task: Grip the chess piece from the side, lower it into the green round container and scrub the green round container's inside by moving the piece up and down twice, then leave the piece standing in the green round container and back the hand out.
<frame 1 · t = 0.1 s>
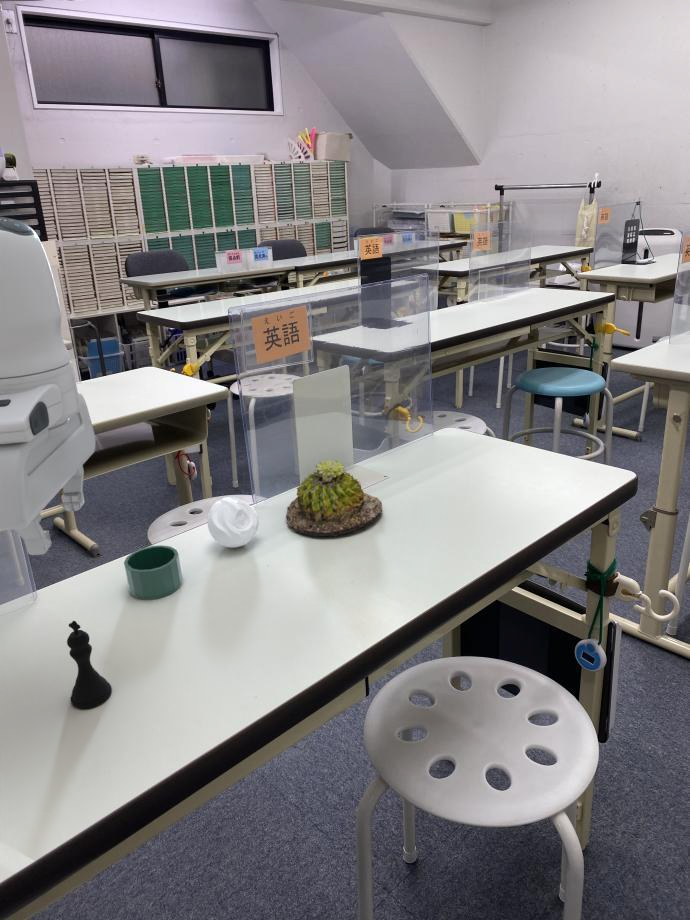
hand: (58, 528, 69), 21 cm above the table, tool pointing down, fingers open, 8 cm apart
cactus: (334, 516, 116), on the table
chess piece: (92, 697, 77), on the table
green round container: (156, 585, 98), on the table
white swirled ball: (235, 545, 109), on the table
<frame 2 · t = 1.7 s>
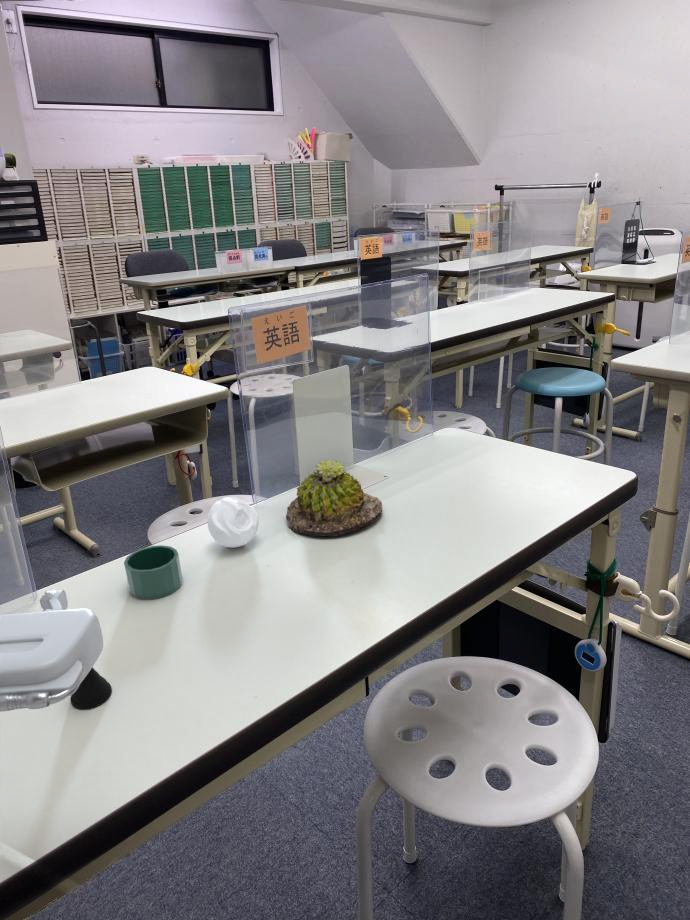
hand: (3, 601, 59), 20 cm above the table, tool horizontal, fingers open, 8 cm apart
nothing on the table moved.
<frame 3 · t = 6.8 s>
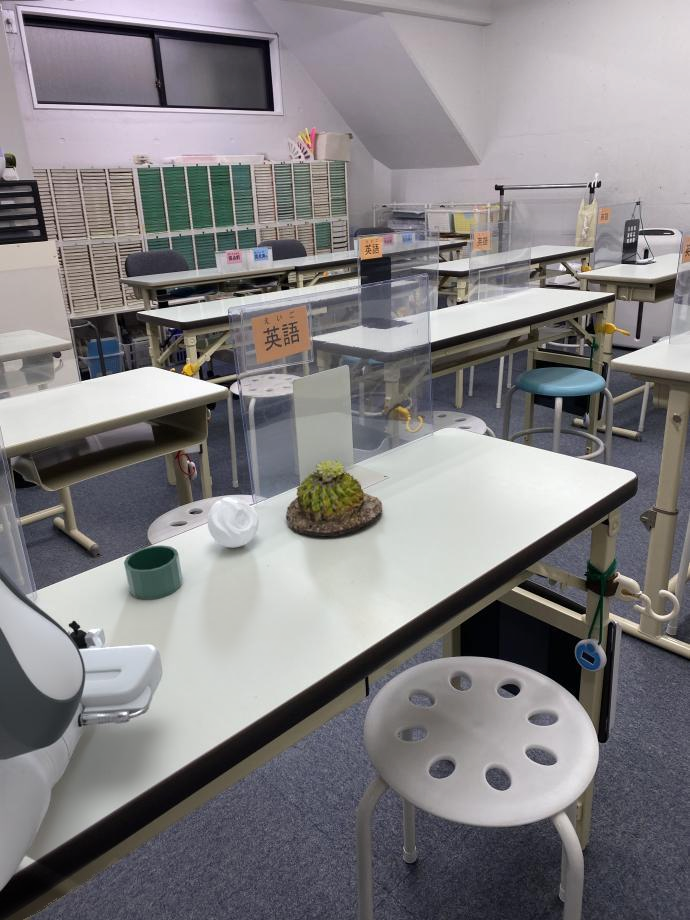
hand: (80, 635, 75), 8 cm above the table, tool horizontal, fingers closed on chess piece, 2 cm apart
chess piece: (92, 697, 77), on the table, touching gripper
everything else where it was.
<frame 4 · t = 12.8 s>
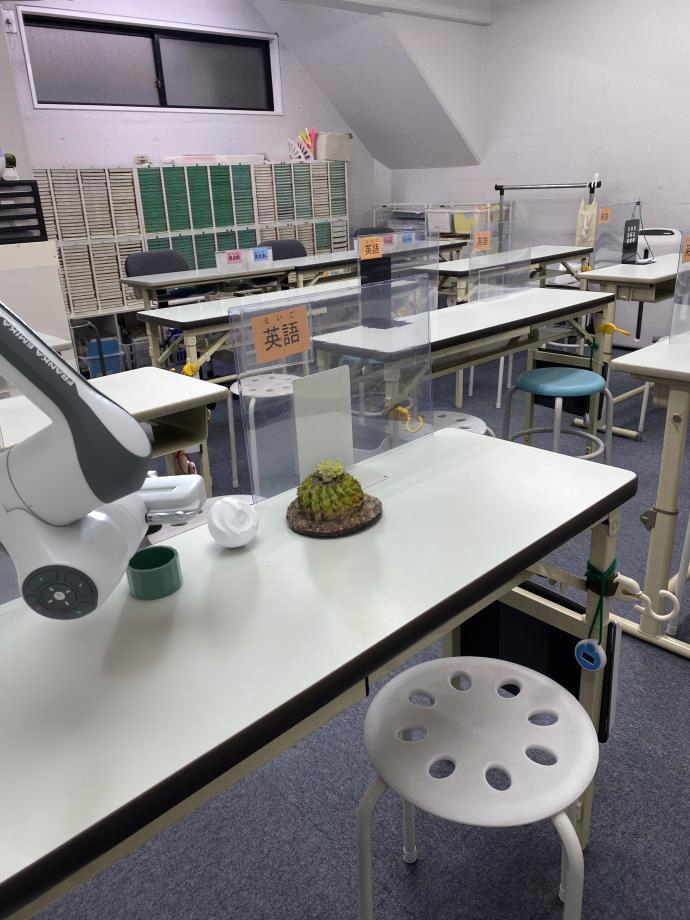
hand: (138, 477, 93), 17 cm above the table, tool horizontal, fingers closed on chess piece, 2 cm apart
chess piece: (146, 530, 95), point 9 cm above the table, touching gripper
everything else where it was.
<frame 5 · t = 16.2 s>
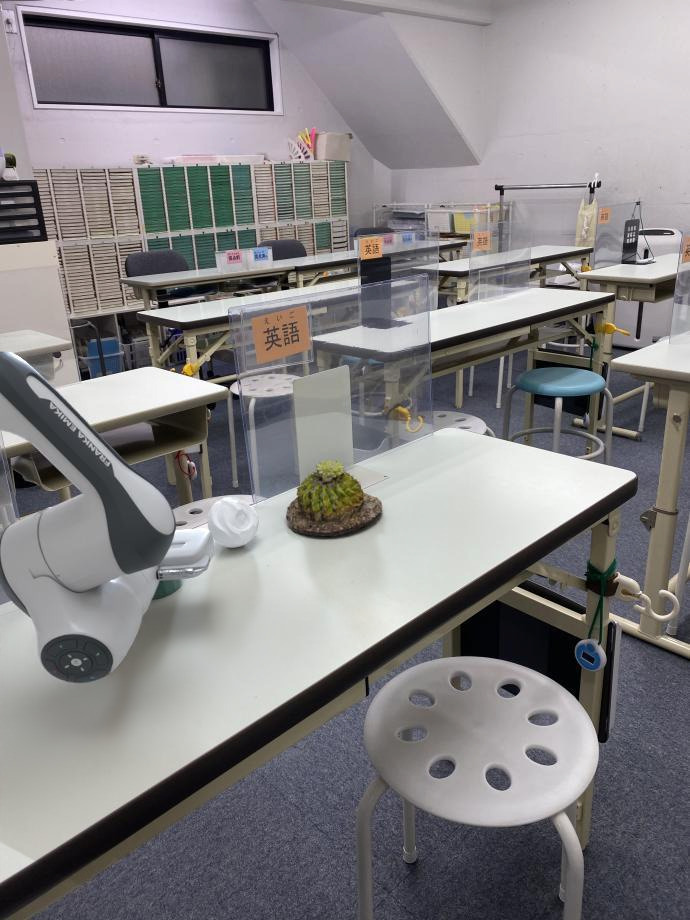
hand: (148, 527, 96), 9 cm above the table, tool horizontal, fingers closed on chess piece, 2 cm apart
chess piece: (155, 578, 98), point 1 cm above the table, touching gripper
everything else where it was.
when the fingers open (8 cm above the table, at t = 18.7 s): chess piece stays where it is, resting on green round container.
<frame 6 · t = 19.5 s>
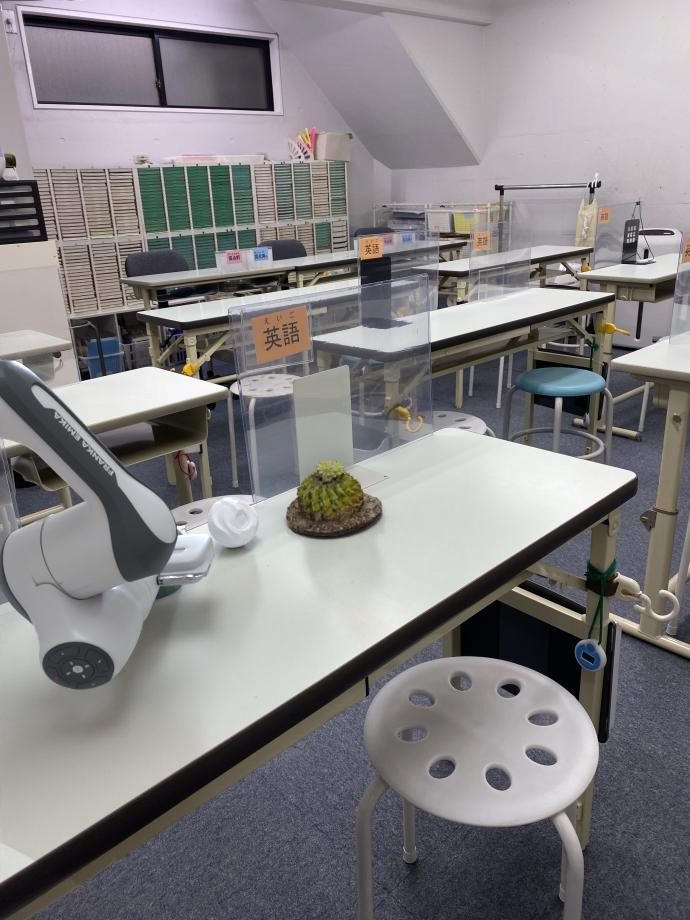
hand: (148, 532, 96), 8 cm above the table, tool horizontal, fingers open, 8 cm apart
chess piece: (156, 584, 98), resting on green round container
everything else where it was.
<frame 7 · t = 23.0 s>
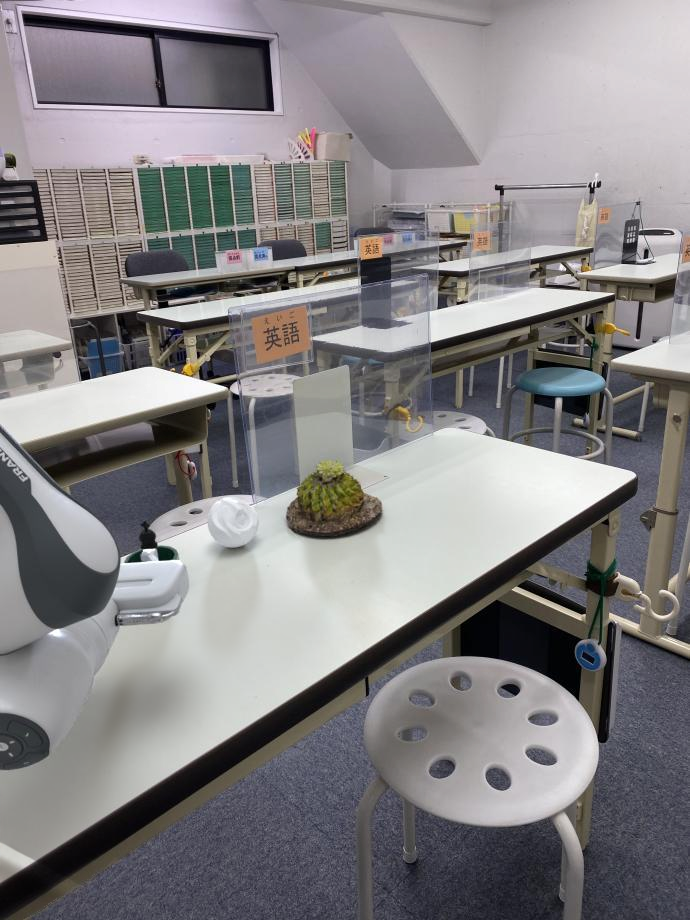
hand: (111, 556, 81), 13 cm above the table, tool horizontal, fingers open, 8 cm apart
nothing on the table moved.
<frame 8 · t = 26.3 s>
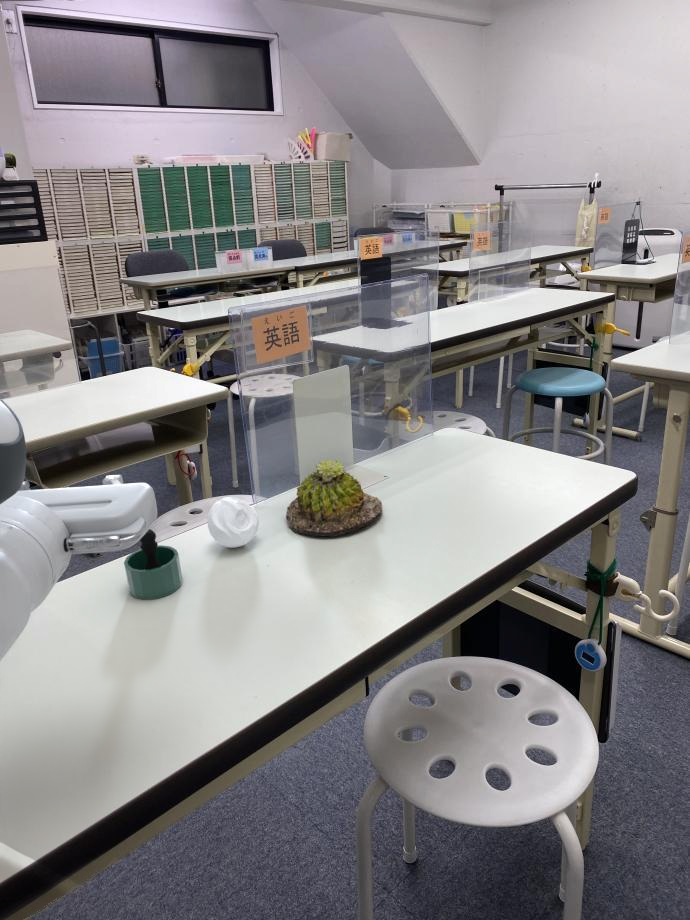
hand: (69, 484, 70), 25 cm above the table, tool horizontal, fingers open, 8 cm apart
nothing on the table moved.
at the end: chess piece 0.1 cm off-centre in the green round container, point 0.2 cm above the green round container's base; chess piece tilted 0°; the gripper is holding nothing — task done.
